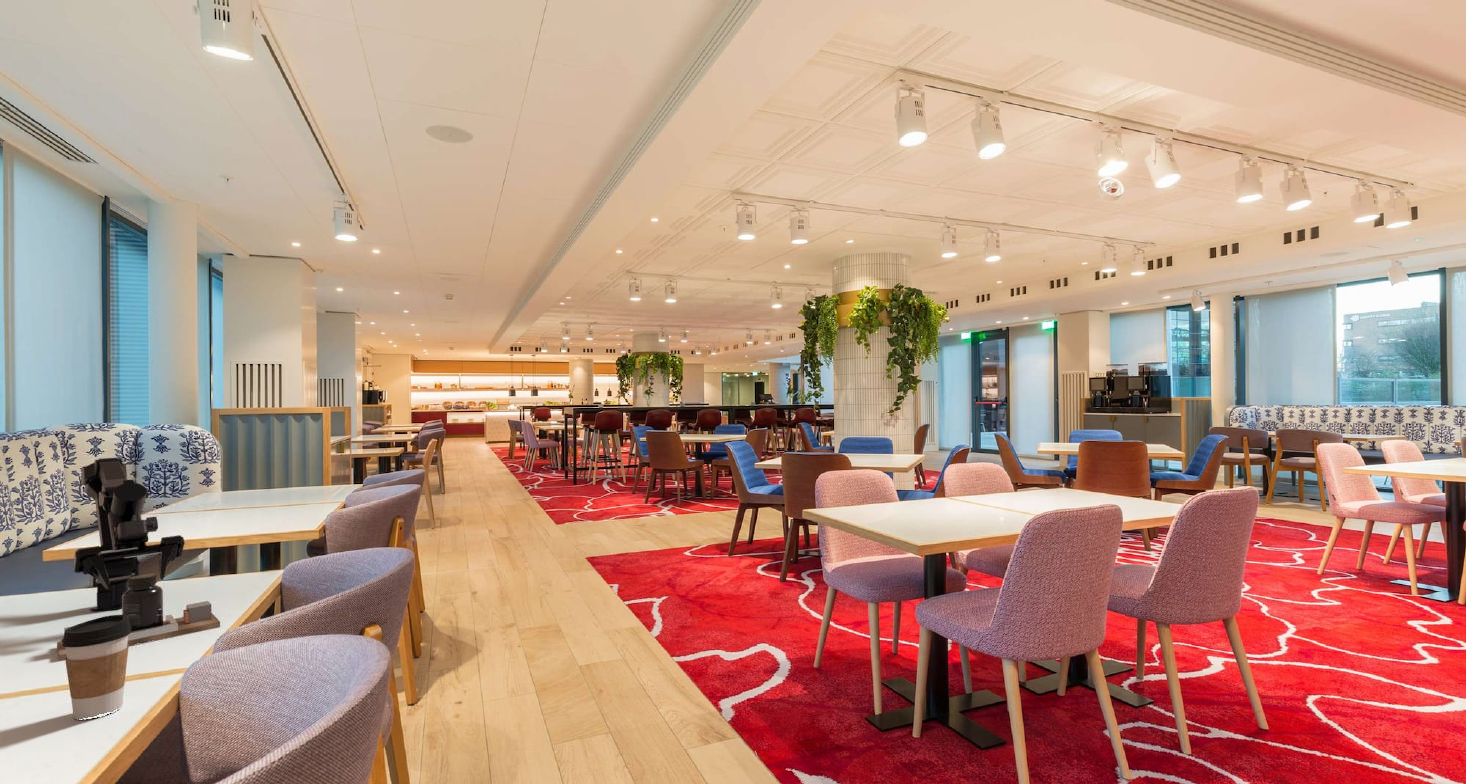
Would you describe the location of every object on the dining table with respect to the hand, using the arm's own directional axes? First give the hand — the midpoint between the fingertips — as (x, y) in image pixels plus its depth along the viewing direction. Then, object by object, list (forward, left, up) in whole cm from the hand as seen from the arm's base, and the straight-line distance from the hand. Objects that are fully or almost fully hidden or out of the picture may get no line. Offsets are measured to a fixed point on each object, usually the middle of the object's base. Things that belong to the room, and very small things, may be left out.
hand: (136, 583), depth 152 cm
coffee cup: (+44, +23, -11) cm, 51 cm away
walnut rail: (+4, +4, -11) cm, 12 cm away
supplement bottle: (+4, +4, -10) cm, 11 cm away
